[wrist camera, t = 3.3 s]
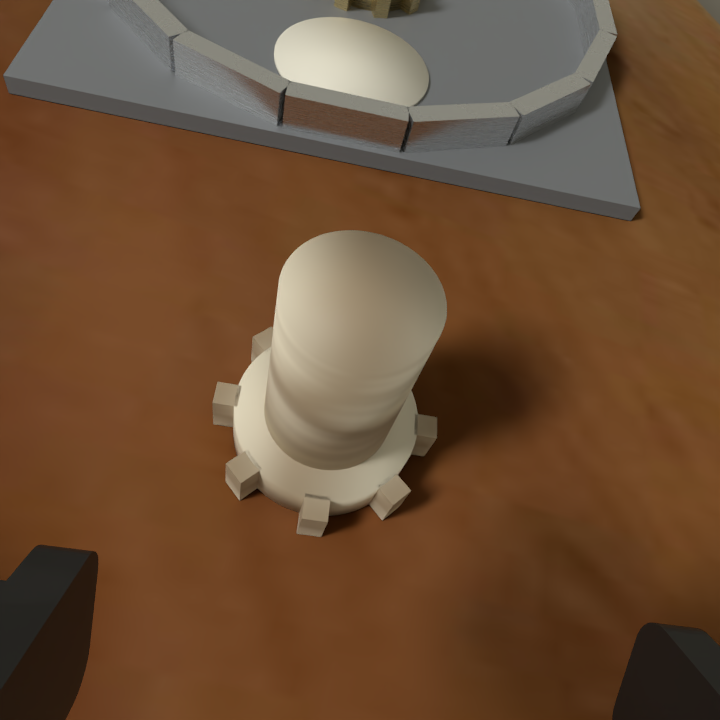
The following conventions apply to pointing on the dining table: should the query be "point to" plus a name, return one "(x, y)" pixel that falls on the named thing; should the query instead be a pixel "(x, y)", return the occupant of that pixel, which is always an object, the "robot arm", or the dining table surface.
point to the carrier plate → (358, 83)
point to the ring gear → (360, 114)
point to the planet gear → (336, 380)
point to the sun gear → (379, 6)
